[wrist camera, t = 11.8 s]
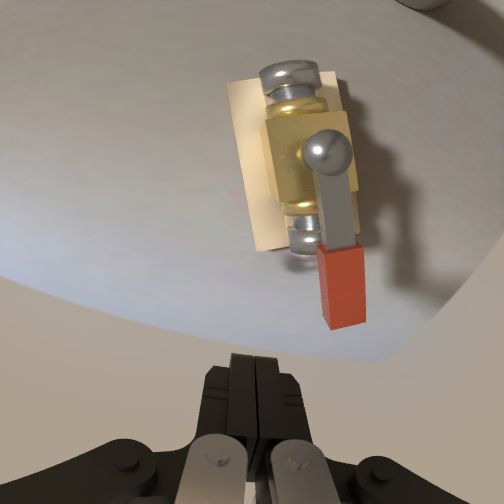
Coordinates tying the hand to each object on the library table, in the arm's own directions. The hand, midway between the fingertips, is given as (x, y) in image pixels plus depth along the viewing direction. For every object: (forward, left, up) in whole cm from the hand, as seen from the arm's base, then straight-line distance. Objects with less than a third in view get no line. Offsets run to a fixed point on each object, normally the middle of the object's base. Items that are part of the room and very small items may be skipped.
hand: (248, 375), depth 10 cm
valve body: (-6, -7, -16) cm, 18 cm away
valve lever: (-6, -2, -8) cm, 10 cm away
